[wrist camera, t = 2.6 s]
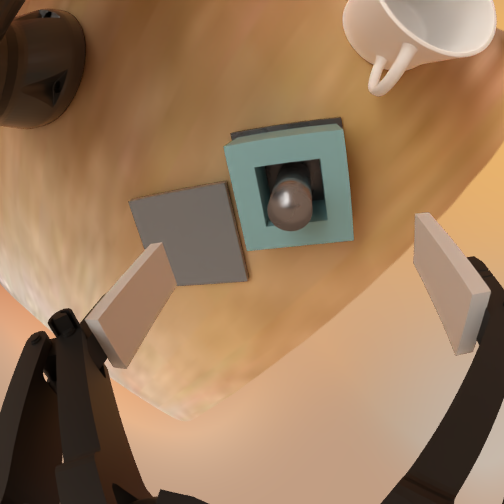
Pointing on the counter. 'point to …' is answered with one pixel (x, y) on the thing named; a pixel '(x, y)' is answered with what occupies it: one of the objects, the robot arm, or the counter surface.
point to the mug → (415, 33)
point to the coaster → (194, 233)
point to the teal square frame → (258, 195)
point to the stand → (292, 181)
